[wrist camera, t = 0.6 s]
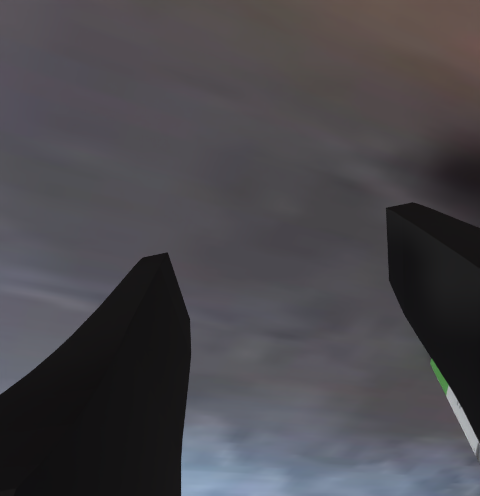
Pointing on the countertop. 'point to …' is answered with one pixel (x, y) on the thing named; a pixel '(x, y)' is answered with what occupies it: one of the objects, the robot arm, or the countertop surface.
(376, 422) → the countertop surface
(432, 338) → the robot arm
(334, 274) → the countertop surface
